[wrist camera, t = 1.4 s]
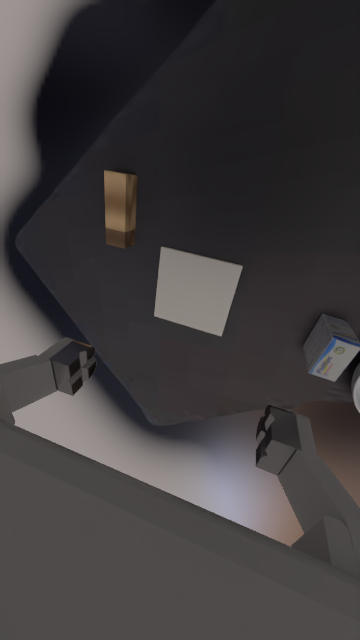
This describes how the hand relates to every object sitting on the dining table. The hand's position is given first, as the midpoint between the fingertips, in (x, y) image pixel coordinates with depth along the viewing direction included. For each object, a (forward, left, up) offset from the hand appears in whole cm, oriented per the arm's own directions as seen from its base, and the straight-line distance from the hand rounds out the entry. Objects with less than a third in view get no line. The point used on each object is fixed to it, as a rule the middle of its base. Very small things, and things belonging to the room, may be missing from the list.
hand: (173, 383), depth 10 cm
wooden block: (-1, -22, -36) cm, 42 cm away
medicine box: (+13, +20, -36) cm, 43 cm away
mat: (+12, -6, -36) cm, 38 cm away
